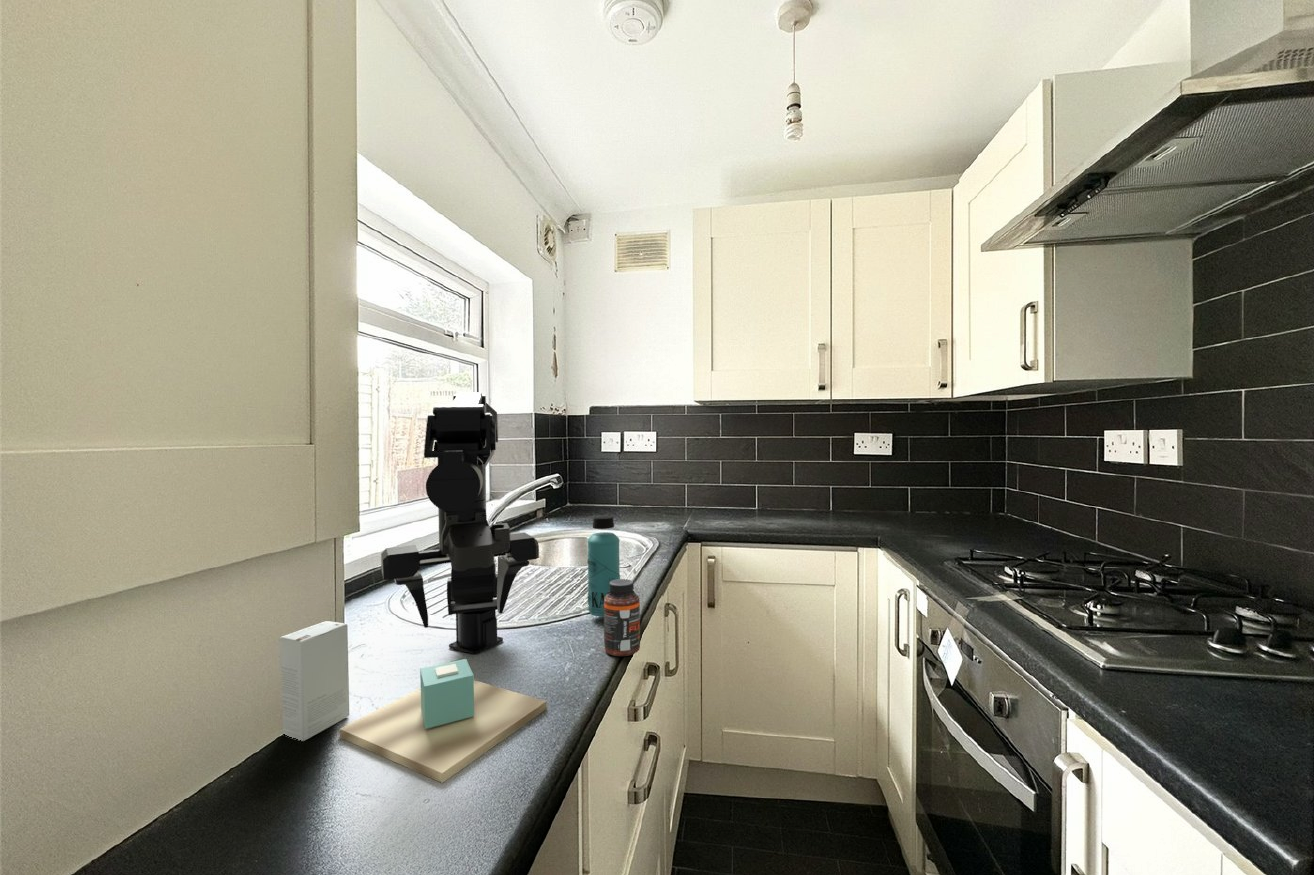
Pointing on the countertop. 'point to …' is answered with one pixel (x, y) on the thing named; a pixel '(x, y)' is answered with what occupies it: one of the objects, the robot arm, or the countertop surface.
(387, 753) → the post board
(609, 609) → the supplement bottle
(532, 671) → the countertop surface
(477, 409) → the robot arm
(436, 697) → the teal cube with pad
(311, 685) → the skincare box
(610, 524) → the beverage bottle
